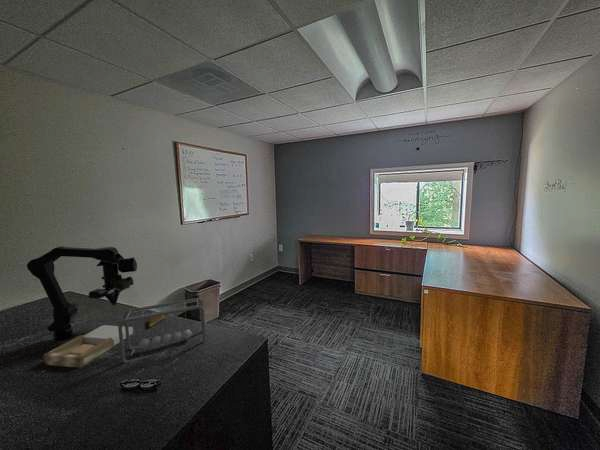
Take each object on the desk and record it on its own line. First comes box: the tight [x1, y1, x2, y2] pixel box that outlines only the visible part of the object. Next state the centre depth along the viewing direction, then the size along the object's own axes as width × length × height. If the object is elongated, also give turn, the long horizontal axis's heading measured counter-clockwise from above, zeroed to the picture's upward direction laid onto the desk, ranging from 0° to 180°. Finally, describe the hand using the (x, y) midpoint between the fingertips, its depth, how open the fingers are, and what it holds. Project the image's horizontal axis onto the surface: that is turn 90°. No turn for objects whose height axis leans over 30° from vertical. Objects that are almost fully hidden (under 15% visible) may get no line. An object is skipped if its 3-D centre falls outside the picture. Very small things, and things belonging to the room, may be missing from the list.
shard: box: [147, 315, 166, 328], centre depth 124 cm, size 11×8×2 cm
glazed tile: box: [69, 343, 96, 355], centre depth 99 cm, size 6×6×2 cm
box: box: [43, 334, 114, 369], centre depth 98 cm, size 16×14×4 cm
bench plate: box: [83, 324, 134, 347], centre depth 110 cm, size 16×10×3 cm, turn 82°
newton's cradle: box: [117, 297, 207, 364], centre depth 102 cm, size 30×10×18 cm, turn 115°
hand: (114, 304), depth 118 cm, fingers closed
